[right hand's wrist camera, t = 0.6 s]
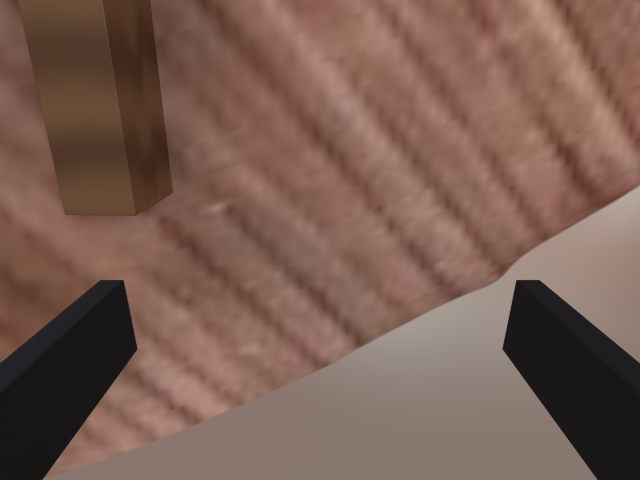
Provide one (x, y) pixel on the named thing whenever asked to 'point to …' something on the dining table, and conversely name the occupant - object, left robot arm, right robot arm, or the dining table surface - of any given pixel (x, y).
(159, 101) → the bar
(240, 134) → the dining table surface
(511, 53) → the dining table surface
